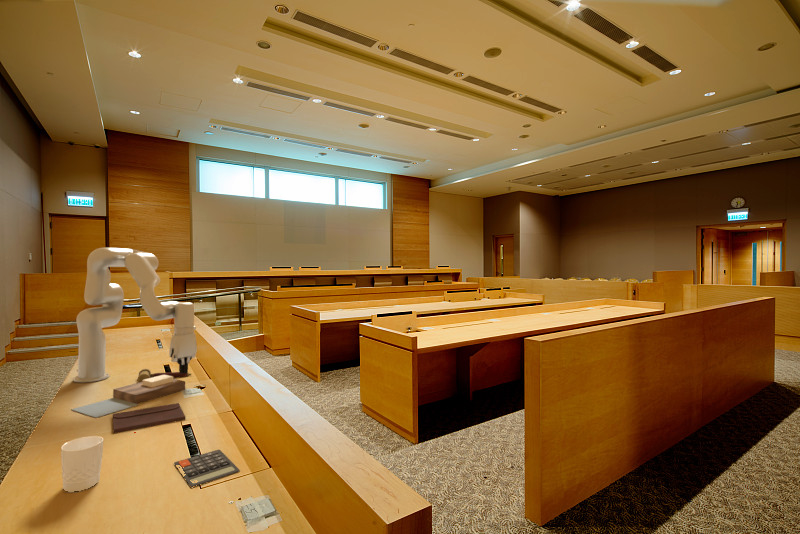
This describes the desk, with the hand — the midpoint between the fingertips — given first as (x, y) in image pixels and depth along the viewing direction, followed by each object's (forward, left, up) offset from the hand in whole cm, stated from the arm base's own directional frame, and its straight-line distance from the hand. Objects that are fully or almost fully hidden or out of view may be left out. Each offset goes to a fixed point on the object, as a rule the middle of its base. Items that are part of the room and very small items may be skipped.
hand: (183, 372), depth 170 cm
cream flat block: (0, -11, -2) cm, 11 cm away
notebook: (+24, -30, -6) cm, 39 cm away
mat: (+1, -31, -5) cm, 32 cm away
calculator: (+68, -43, -6) cm, 80 cm away
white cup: (+49, -62, -5) cm, 79 cm away
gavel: (-15, +2, -6) cm, 16 cm away
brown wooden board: (0, -14, -5) cm, 15 cm away
